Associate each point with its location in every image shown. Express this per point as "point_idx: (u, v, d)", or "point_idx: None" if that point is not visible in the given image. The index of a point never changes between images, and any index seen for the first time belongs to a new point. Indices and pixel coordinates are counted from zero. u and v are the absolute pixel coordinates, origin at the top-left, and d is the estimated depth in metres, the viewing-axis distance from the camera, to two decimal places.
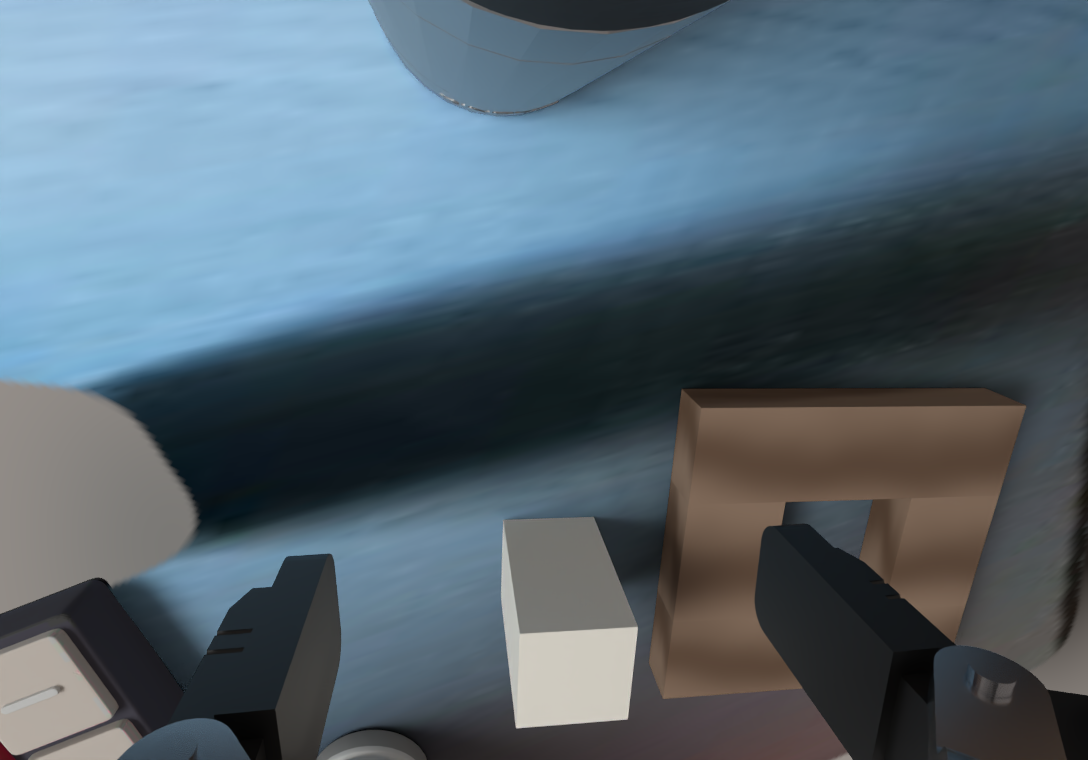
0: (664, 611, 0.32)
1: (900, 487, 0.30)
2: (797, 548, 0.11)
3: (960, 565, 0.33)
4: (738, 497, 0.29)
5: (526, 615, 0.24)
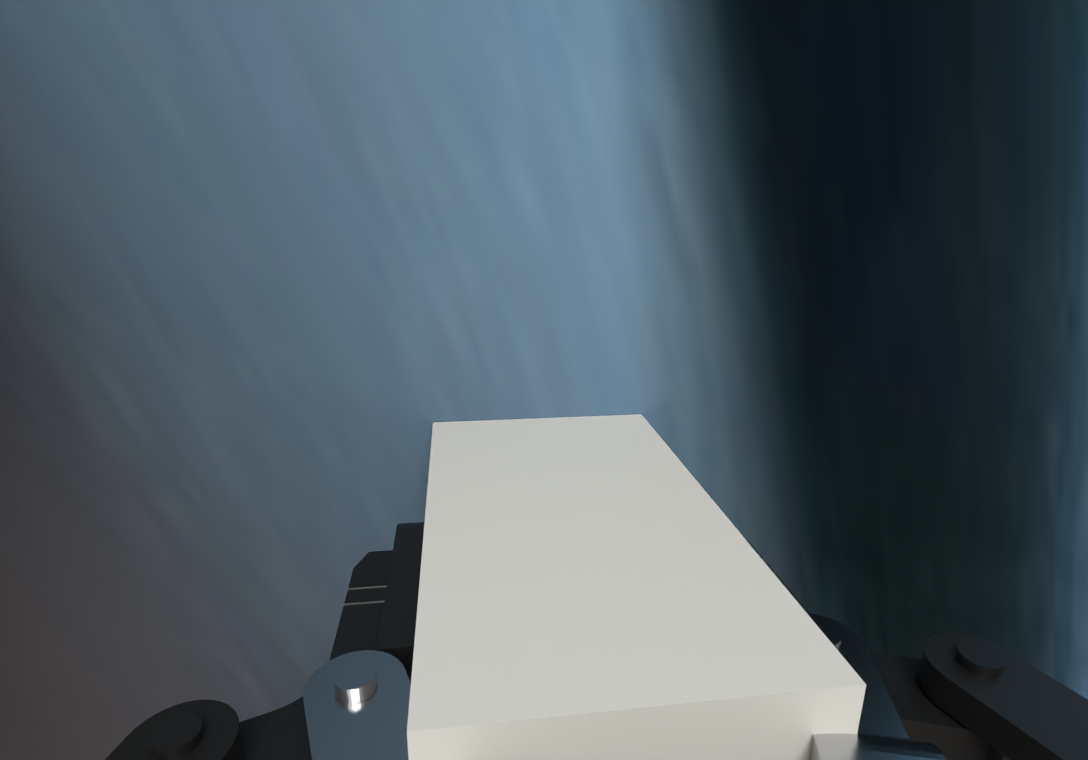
0: None
1: None
2: None
3: None
4: None
5: None
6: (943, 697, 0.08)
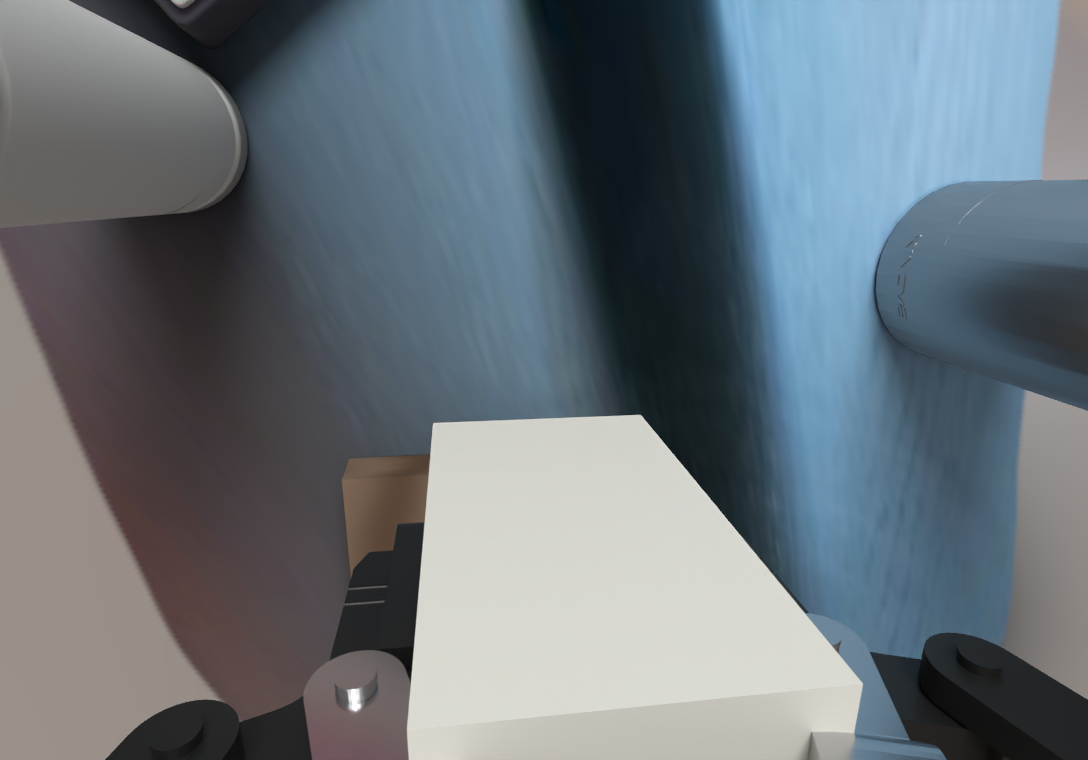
0: None
1: None
2: None
3: None
4: None
5: None
6: (943, 697, 0.08)
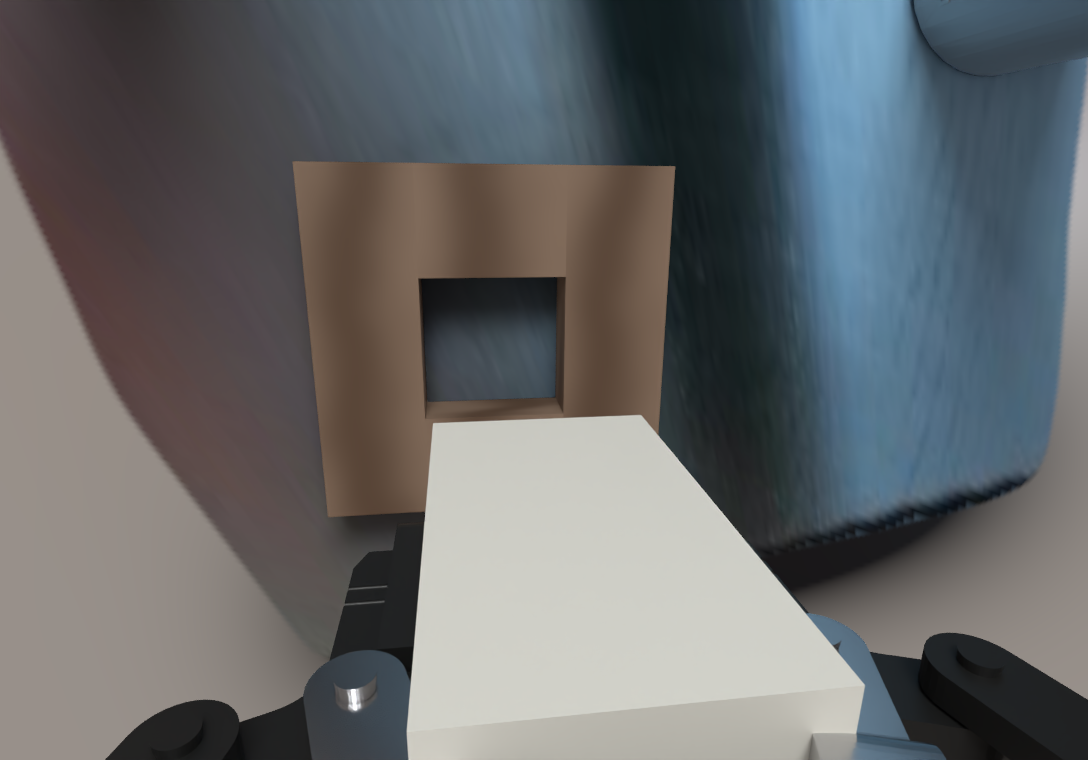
0: None
1: (576, 398, 0.30)
2: None
3: None
4: (573, 222, 0.28)
5: None
6: (943, 697, 0.08)
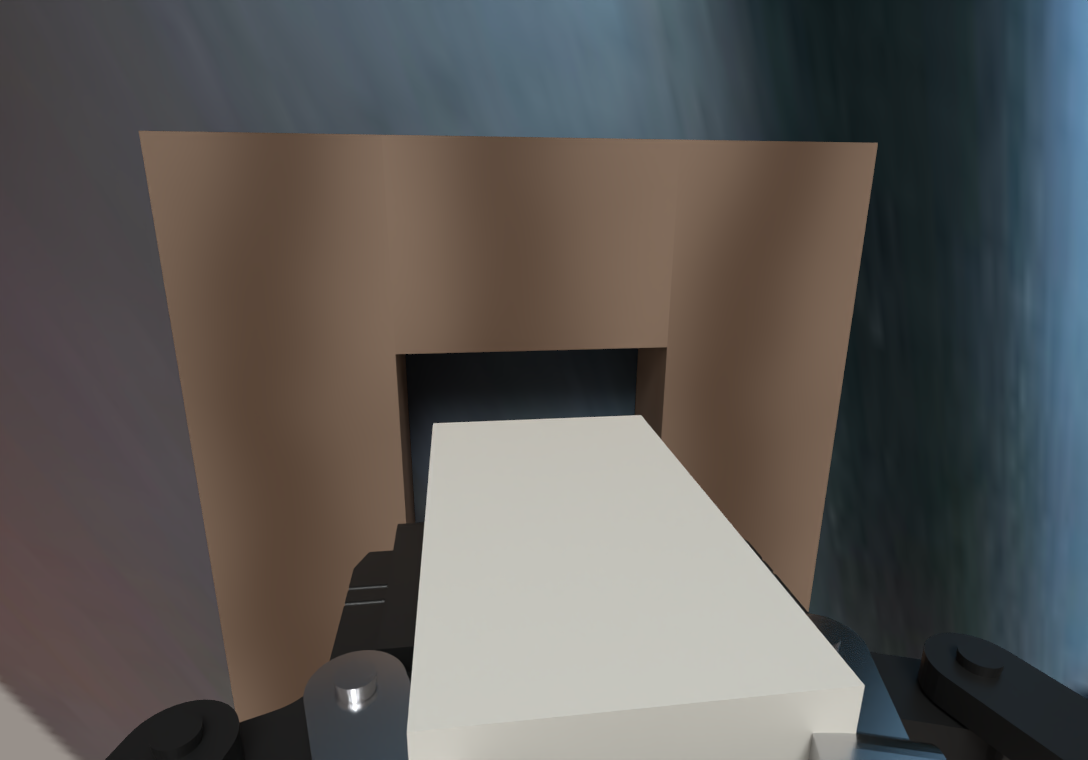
0: None
1: None
2: None
3: None
4: (685, 248, 0.15)
5: None
6: (943, 697, 0.08)
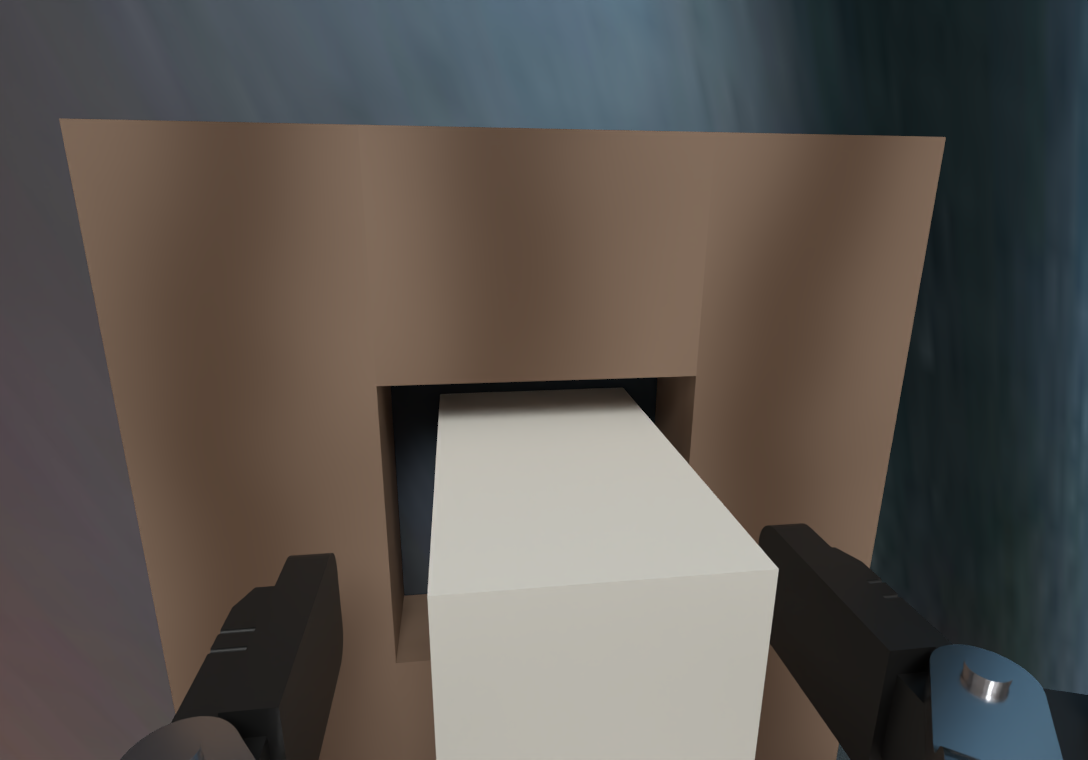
0: None
1: None
2: (795, 547, 0.11)
3: None
4: (718, 260, 0.13)
5: None
6: None
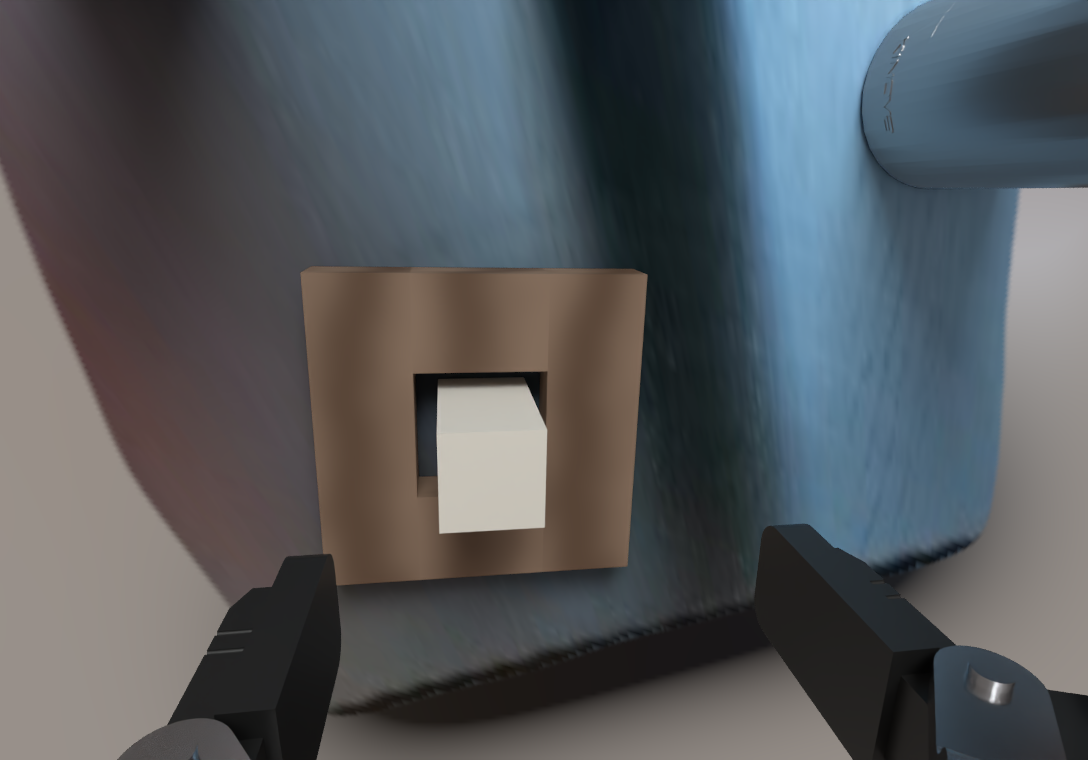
0: (403, 270, 0.30)
1: (556, 478, 0.33)
2: (797, 548, 0.11)
3: (467, 559, 0.34)
4: (554, 323, 0.31)
5: None
6: None
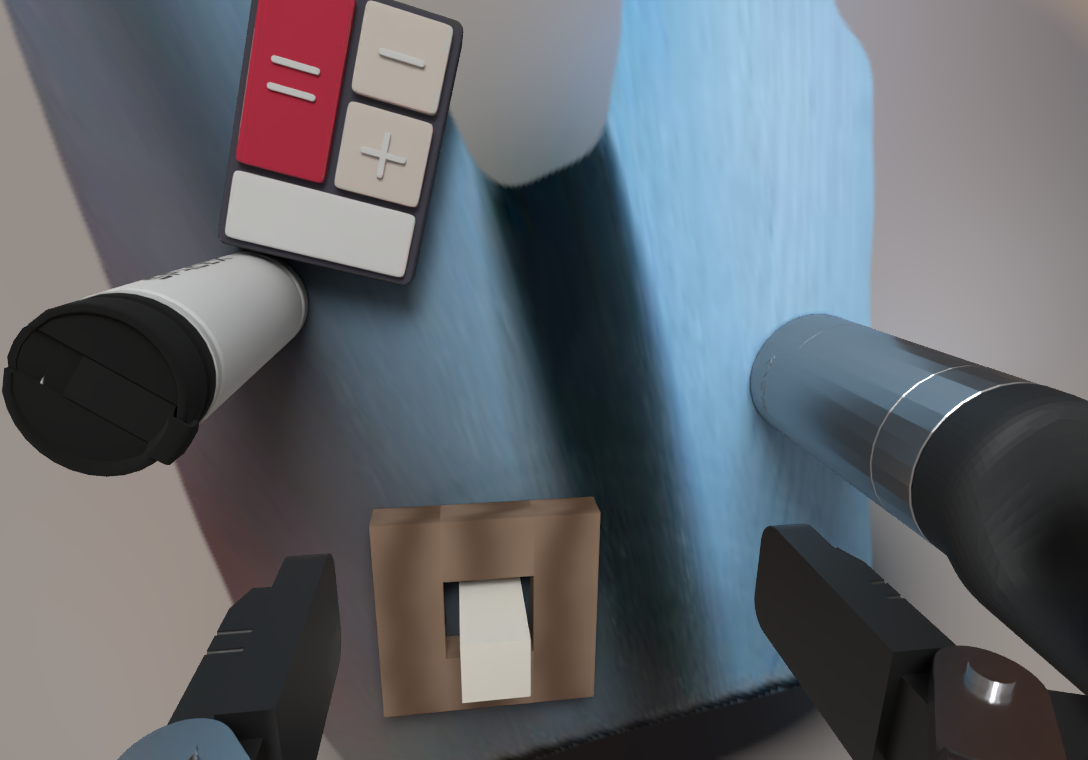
0: (435, 513, 0.45)
1: (541, 642, 0.48)
2: (797, 548, 0.11)
3: None
4: (537, 546, 0.45)
5: None
6: None
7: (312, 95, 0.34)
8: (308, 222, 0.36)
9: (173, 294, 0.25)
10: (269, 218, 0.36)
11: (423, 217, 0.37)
